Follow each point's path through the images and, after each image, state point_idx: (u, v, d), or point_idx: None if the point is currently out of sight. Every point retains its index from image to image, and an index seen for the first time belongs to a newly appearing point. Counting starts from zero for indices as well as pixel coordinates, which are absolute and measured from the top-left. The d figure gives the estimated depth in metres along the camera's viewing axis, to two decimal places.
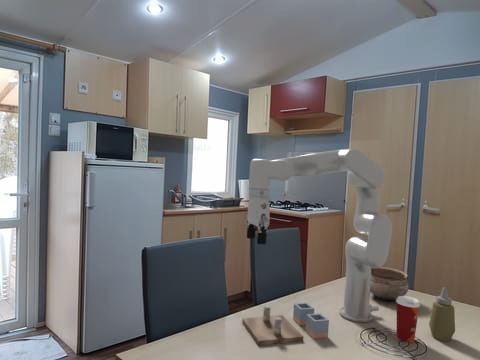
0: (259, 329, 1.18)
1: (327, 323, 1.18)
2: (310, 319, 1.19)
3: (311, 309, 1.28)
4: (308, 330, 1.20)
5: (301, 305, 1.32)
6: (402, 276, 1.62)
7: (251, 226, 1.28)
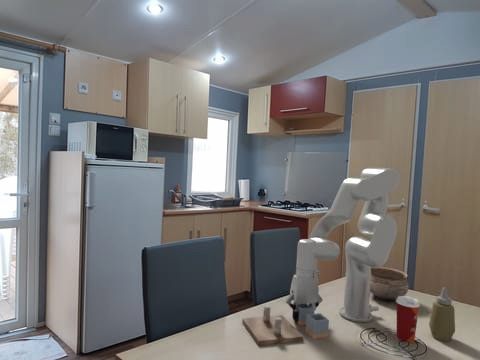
0: (259, 329, 1.18)
1: (327, 323, 1.18)
2: (310, 319, 1.19)
3: (311, 309, 1.28)
4: (308, 330, 1.20)
5: (301, 305, 1.32)
6: (402, 276, 1.62)
7: None
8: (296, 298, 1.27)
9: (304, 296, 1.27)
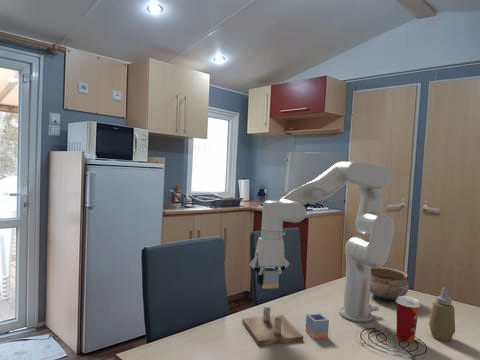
0: (259, 329, 1.18)
1: (327, 323, 1.18)
2: (310, 319, 1.19)
3: (276, 272, 1.23)
4: (308, 330, 1.20)
5: (267, 269, 1.27)
6: (402, 276, 1.62)
7: None
8: (260, 260, 1.22)
9: (269, 258, 1.22)
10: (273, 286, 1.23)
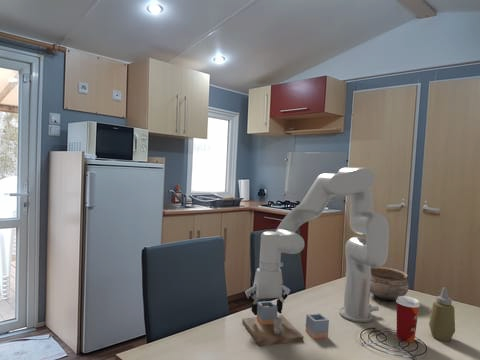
0: (259, 329, 1.18)
1: (327, 323, 1.18)
2: (310, 319, 1.19)
3: (274, 308, 1.23)
4: (308, 330, 1.20)
5: (265, 304, 1.27)
6: (402, 276, 1.62)
7: None
8: (258, 292, 1.22)
9: (267, 290, 1.23)
10: (271, 322, 1.23)
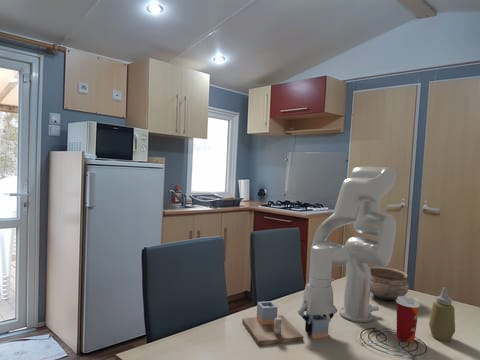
0: (259, 329, 1.18)
1: (327, 323, 1.18)
2: None
3: (274, 308, 1.23)
4: None
5: (265, 304, 1.27)
6: (402, 276, 1.62)
7: None
8: (309, 309, 1.17)
9: (318, 307, 1.18)
10: (271, 322, 1.23)
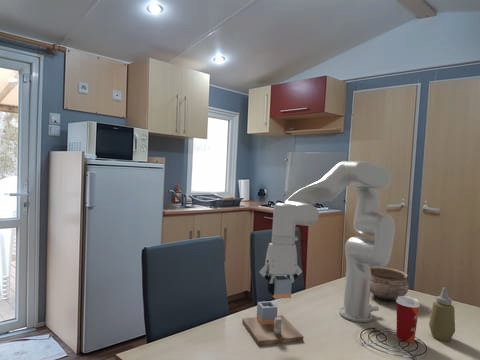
0: (259, 329, 1.18)
1: (290, 283, 1.13)
2: None
3: (274, 308, 1.23)
4: None
5: (265, 304, 1.27)
6: (402, 276, 1.62)
7: None
8: (271, 268, 1.12)
9: (280, 266, 1.13)
10: (271, 322, 1.23)
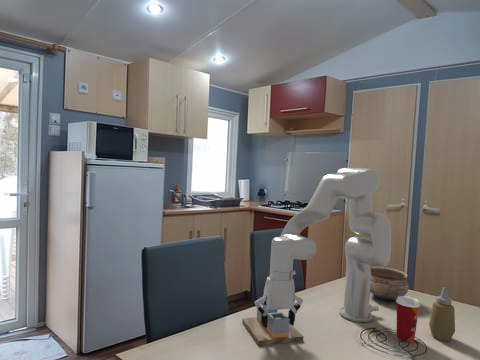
0: (259, 329, 1.18)
1: (288, 322, 1.14)
2: (271, 318, 1.15)
3: None
4: (269, 329, 1.16)
5: None
6: (402, 276, 1.62)
7: None
8: (269, 303, 1.12)
9: (278, 301, 1.13)
10: None
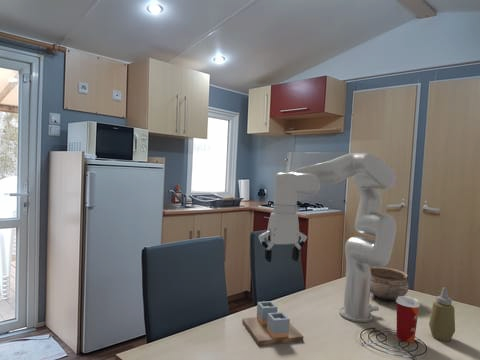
0: (259, 329, 1.18)
1: (288, 322, 1.14)
2: (271, 318, 1.15)
3: (274, 308, 1.23)
4: (269, 329, 1.16)
5: (265, 304, 1.27)
6: (402, 276, 1.62)
7: None
8: (273, 237, 1.12)
9: (282, 235, 1.12)
10: None
